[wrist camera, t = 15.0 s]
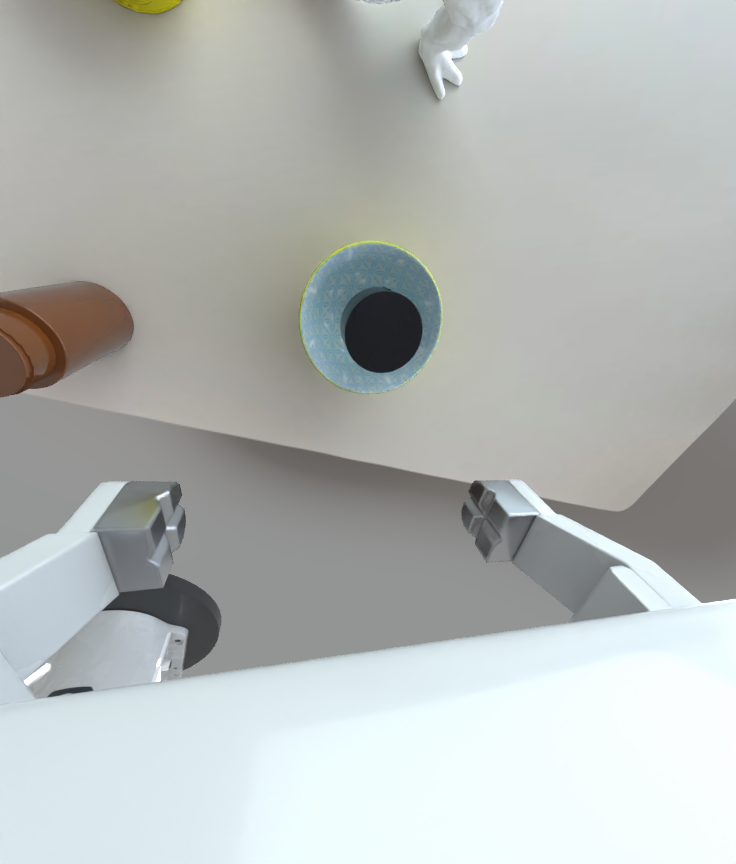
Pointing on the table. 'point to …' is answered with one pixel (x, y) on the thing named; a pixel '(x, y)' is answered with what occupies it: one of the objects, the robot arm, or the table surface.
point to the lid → (381, 329)
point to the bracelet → (149, 5)
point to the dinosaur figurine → (452, 36)
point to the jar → (57, 332)
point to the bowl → (341, 283)
